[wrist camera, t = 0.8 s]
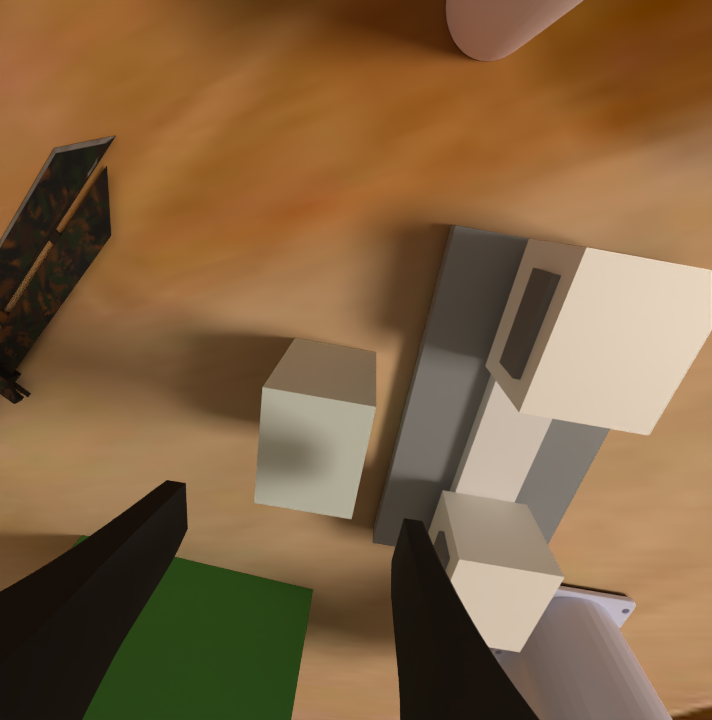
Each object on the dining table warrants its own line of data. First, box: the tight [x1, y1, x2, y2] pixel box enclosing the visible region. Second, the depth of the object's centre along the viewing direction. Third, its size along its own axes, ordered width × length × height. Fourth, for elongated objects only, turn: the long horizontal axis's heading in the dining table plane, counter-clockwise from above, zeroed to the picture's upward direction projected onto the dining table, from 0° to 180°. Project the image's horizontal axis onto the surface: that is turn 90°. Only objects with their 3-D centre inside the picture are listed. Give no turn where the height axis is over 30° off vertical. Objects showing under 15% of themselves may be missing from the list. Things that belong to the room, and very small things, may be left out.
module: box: [254, 338, 376, 519], centre depth 18 cm, size 6×5×6 cm
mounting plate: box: [373, 225, 712, 652], centre depth 18 cm, size 20×11×6 cm, turn 171°
